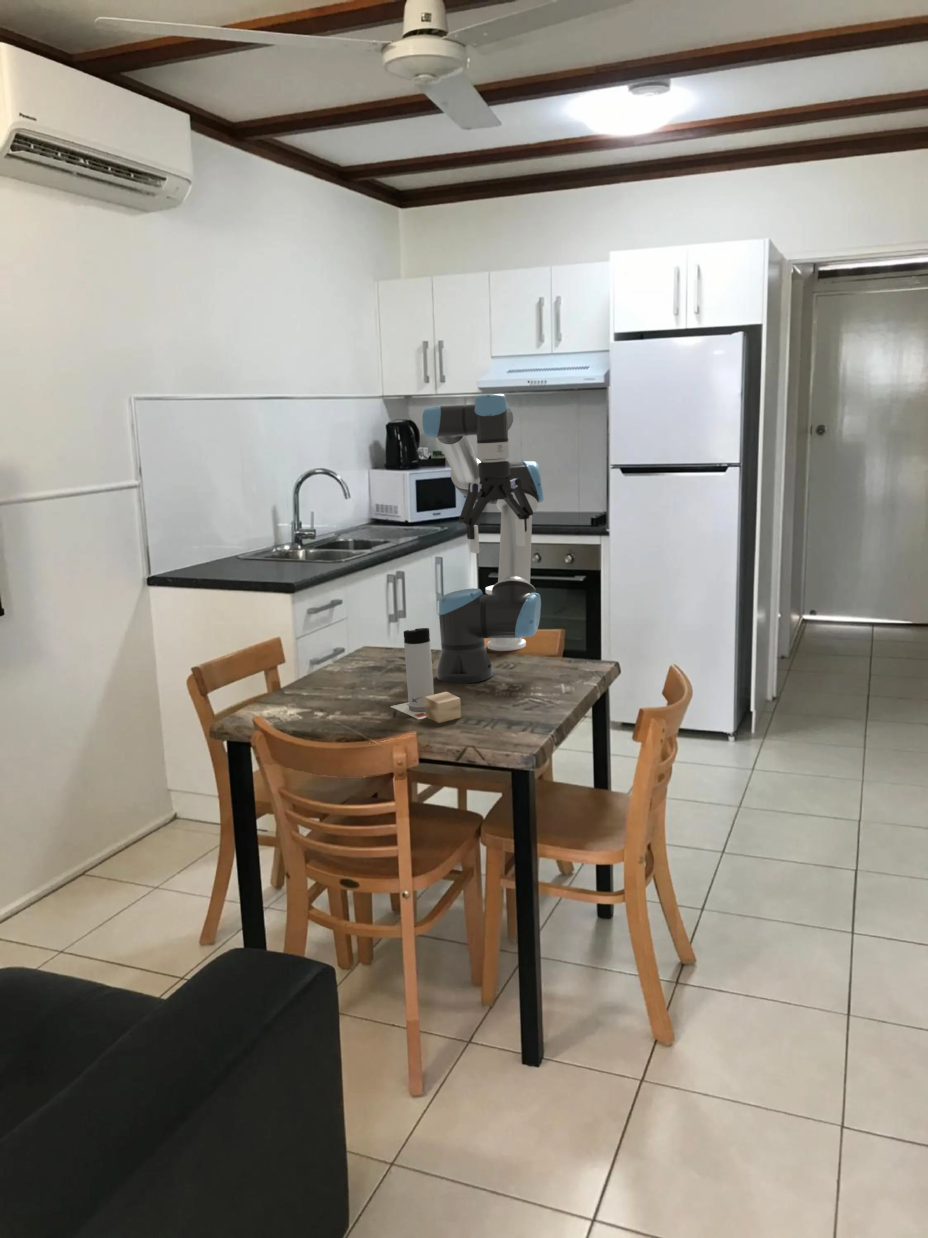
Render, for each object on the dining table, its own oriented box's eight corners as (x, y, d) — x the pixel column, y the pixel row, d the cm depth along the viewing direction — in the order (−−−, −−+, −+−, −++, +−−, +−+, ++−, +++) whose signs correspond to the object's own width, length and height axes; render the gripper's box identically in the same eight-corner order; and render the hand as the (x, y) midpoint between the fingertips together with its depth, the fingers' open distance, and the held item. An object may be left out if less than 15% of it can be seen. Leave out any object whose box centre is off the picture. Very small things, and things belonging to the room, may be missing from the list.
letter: (390, 707, 245) (390, 706, 245) (425, 699, 250) (425, 698, 250) (419, 720, 233) (419, 719, 233) (455, 711, 238) (455, 710, 238)
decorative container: (491, 652, 294) (487, 592, 290) (484, 643, 305) (481, 585, 301) (529, 648, 295) (526, 588, 292) (521, 640, 306) (518, 582, 303)
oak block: (425, 716, 235) (424, 696, 233) (447, 711, 238) (446, 691, 236) (439, 724, 230) (438, 703, 228) (461, 718, 233) (460, 698, 231)
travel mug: (416, 714, 237) (410, 632, 233) (404, 707, 243) (398, 627, 239) (439, 709, 240) (434, 627, 236) (428, 702, 246) (422, 623, 242)
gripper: (458, 465, 228) (463, 557, 232) (545, 456, 241) (548, 543, 245) (440, 464, 234) (446, 554, 239) (526, 456, 247) (530, 541, 252)
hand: (498, 549), depth 242 cm, fingers open, 13 cm apart
